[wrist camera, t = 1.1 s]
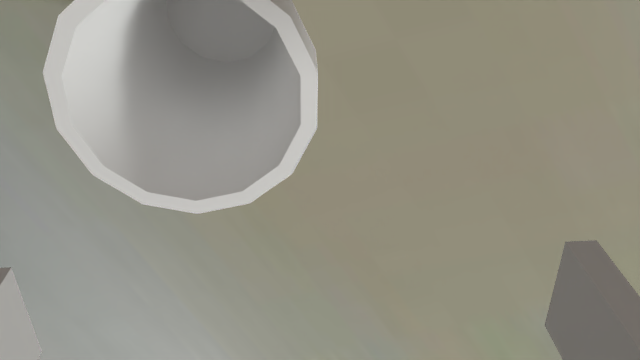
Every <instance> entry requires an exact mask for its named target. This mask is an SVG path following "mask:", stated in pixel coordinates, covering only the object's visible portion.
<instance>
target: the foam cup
mask: <svg viewBox="0 0 640 360" xmlns="http://www.w3.org/2000/svg"><path fill="white" fill-rule="evenodd" d="M43 75H44V79H45V83H46V87H47V92H48V96H49V100H50V104H51V108H52V112H53V117H54V121H55V125H56V129H57V130H58V131H59V133H60V134H61V135H62V137H63V138H64V139H65V140H66V142H67V143H68V144H69V145H70V147H71V148H72V149H73V151H74V152H75V153H76V154H77V156H78V157H79V158H80V160H81V161H82V162H83V163H84V165H85V166H86V167H87V168H88V170H89V171H90V172H91V174H92V175H94V176H95V177H97V178H99V179H100V180H102V181H104V182H105V183H107V184H109V185H111V186H112V187H114V188H116V189H117V190H119V191H121V192H123V193H124V194H126V195H128V196H129V197H131V198H133V199H134V200H136V201H138V202H140V203H141V204H144V205H150V206H156V207H161V208H167V209H173V210H178V211H184V212H190V213H195V214H199V213H204V212H209V211H214V210H219V209H224V208H229V207H234V206H239V205H244V204H249V203H251V202H253V201H254V200H255V199H257V198H258V197H260V196H261V195H263V194H264V193H265V192H267V191H268V190H270V189H271V188H273V187H274V186H275V185H277V184H278V183H280V182H281V181H283V180H284V179H285V178H287V177H288V176H290V175H291V174H292V173H293V171H294V170H295V168H296V166H297V164H298V162H299V160H300V159H301V157H302V155H303V153H304V151H305V149H306V148H307V146H308V144H309V142H310V140H311V138H312V137H313V135H314V133H315V131H316V129H317V99H318V69H317V58H316V50H315V48H314V45H313V43H312V41H311V39H310V37H309V35H308V33H307V31H306V29H305V27H304V25H303V23H302V21H301V19H300V16H299V14H298V12H297V10H296V8H295V6H294V4H293V2H292V0H74V1H73V2H72V3H71V4H70V5H69V6H68V7H67V8H66V9H65V10H64V11H63V12H62V13H60V14H59V15H58V19H57V22H56V26H55V30H54V33H53V37H52V40H51V44H50V48H49V51H48V55H47V59H46V62H45V66H44V70H43Z"/></svg>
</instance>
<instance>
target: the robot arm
mask: <svg viewBox="0 0 640 360" xmlns="http://www.w3.org/2000/svg"><path fill="white" fill-rule="evenodd" d="M545 327H546V329H547V331H548V332H549V334H550V336H551V338H552V340H553V342H554V344H555V346H556V348H557V350H558V351H559V353H560V355H561V357H562V359H563V360H640V297H639V295H638V294H637V293H636V291H635V290H634V289H633V287H632V286H631V285H630V284H629V282H628V281H627V280H626V278H625V277H624V276H623V274H622V273H621V272H620V270H619V269H618V268H617V267H616V265H615V264H614V263H613V261H612V260H611V259H610V257H609V256H608V255H607V253H606V252H605V251H604V250H603V248H602V247H601V246H600V244H599V243H598V242H597V240H594V241H572V242H565V245H564V250H563V254H562V258H561V262H560V266H559V270H558V274H557V278H556V282H555V286H554V290H553V294H552V298H551V302H550V306H549V310H548V314H547V318H546V322H545ZM41 352H42V350H41V347H40V344H39V342H38V339H37V336H36V334H35V331H34V328H33V325H32V323H31V320H30V317H29V314H28V312H27V309H26V306H25V303H24V301H23V298H22V295H21V293H20V290H19V287H18V284H17V282H16V279H15V276H14V273H13V271H12V268H11V267H10V268H0V360H38V359H39V357H40V355H41Z"/></svg>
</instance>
